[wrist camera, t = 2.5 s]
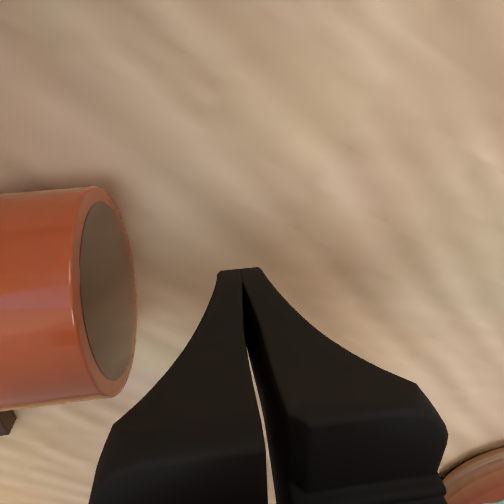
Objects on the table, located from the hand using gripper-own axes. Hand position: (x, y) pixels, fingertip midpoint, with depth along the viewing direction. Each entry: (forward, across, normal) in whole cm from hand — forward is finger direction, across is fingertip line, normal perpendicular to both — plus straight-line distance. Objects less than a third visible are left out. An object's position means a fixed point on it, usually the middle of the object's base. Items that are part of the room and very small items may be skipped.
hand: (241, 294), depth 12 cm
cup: (+5, +8, 0) cm, 9 cm away
